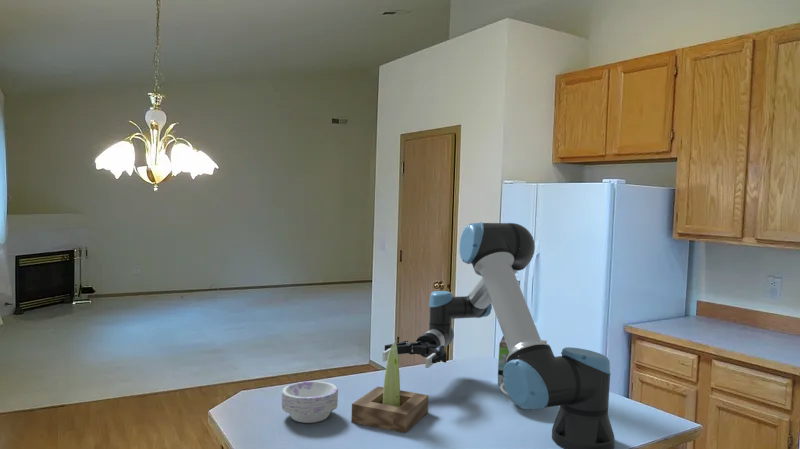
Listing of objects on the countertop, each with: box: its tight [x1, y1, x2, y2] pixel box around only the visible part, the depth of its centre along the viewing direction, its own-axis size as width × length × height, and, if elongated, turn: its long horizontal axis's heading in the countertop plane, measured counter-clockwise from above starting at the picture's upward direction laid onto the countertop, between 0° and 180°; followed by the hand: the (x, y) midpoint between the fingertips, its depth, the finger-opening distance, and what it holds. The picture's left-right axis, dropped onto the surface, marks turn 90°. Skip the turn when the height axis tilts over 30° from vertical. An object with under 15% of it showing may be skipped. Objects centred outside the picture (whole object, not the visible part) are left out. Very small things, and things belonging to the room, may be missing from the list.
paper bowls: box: [281, 380, 339, 424], centre depth 152 cm, size 15×15×8 cm
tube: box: [383, 340, 401, 407], centre depth 152 cm, size 6×5×20 cm
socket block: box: [351, 386, 429, 434], centre depth 153 cm, size 16×16×5 cm
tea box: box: [497, 335, 548, 386], centre depth 184 cm, size 15×10×15 cm, turn 73°
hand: (404, 360), depth 161 cm, fingers open, 13 cm apart
